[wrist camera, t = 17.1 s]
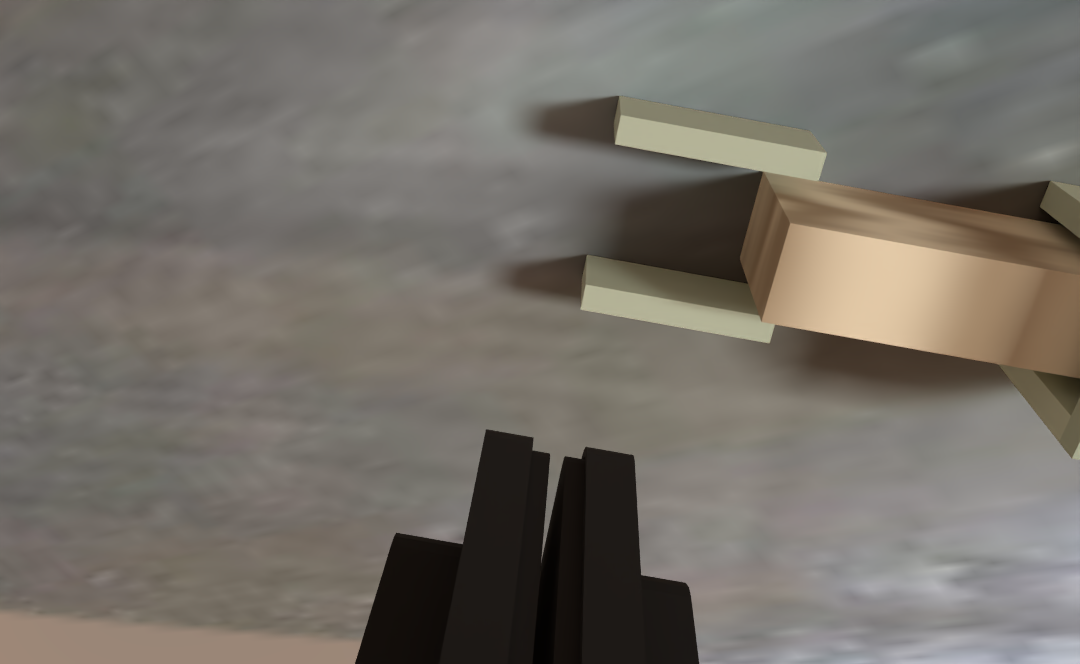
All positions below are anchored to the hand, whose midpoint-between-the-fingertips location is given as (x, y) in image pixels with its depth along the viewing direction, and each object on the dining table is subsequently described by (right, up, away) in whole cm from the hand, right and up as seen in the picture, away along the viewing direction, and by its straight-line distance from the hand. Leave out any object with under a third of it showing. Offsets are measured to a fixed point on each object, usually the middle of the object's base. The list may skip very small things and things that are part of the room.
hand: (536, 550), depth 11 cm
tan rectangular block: (+15, +6, +27) cm, 31 cm away
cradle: (+6, +7, +26) cm, 28 cm away
